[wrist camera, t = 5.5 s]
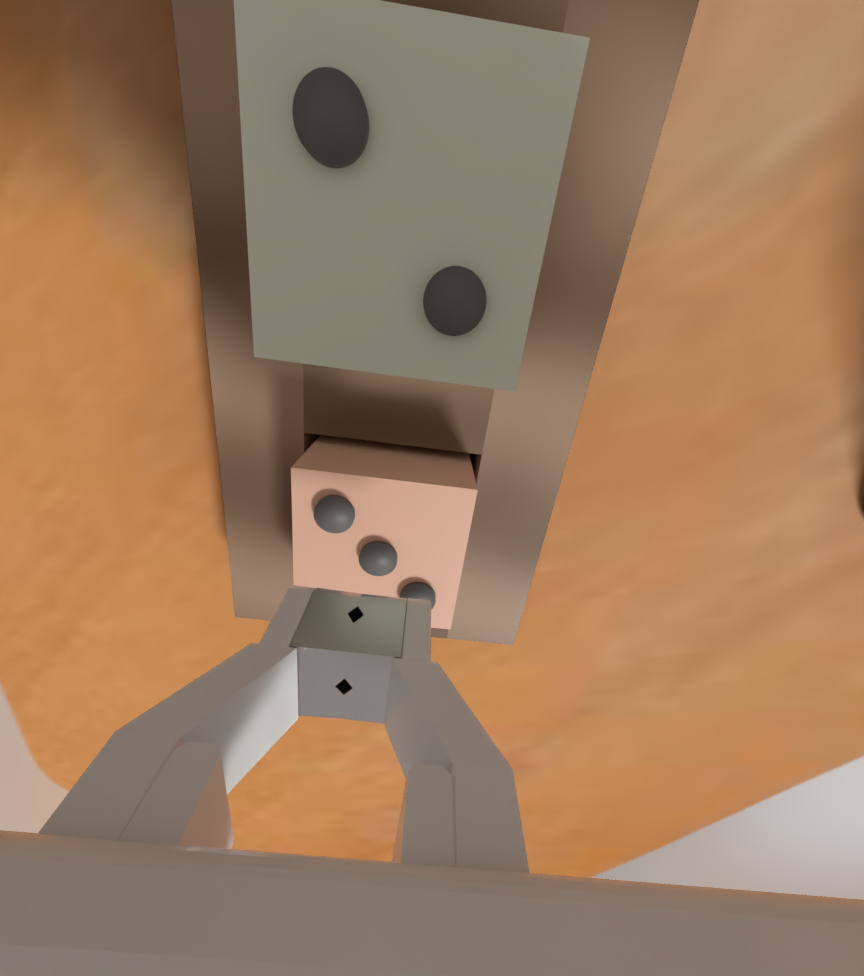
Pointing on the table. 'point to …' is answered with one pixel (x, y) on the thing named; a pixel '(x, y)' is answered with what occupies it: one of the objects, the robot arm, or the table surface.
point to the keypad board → (417, 402)
